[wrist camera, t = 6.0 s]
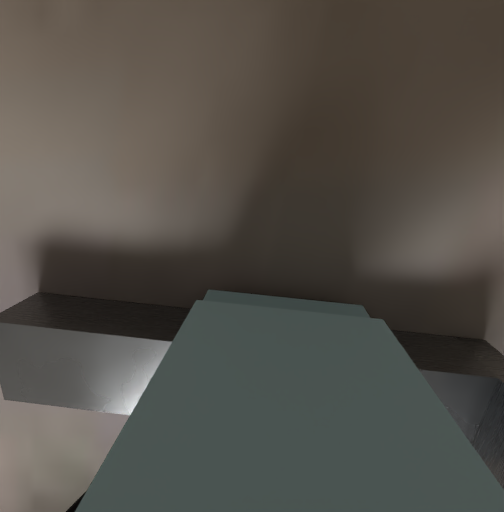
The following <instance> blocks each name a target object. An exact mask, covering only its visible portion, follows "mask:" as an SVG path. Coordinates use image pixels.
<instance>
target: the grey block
mask: <svg viewBox="0 0 504 512" xmlns="http://www.w3.org/2000/svg"><path fill="white" fill-rule="evenodd" d="M75 512H504V489H503V488H502V487H501V485H500V484H499V482H498V481H497V480H496V478H495V477H494V475H493V474H492V473H491V471H490V470H489V468H488V467H487V465H486V464H485V463H484V461H483V460H482V458H481V457H480V456H479V454H478V453H477V451H476V450H475V449H474V447H473V446H472V444H471V443H470V441H469V440H468V439H467V437H466V436H465V434H464V433H463V432H462V430H461V429H460V427H459V426H458V425H457V423H456V422H455V420H454V419H453V417H452V416H451V415H450V413H449V412H448V410H447V409H446V408H445V406H444V405H443V403H442V402H441V401H440V399H439V398H438V396H437V395H436V394H435V392H434V391H433V389H432V388H431V386H430V385H429V384H428V382H427V381H426V379H425V378H424V377H423V375H422V374H421V372H420V371H419V370H418V368H417V367H416V365H415V364H414V362H413V361H412V360H411V358H410V357H409V355H408V354H407V353H406V351H405V350H404V348H403V347H402V346H401V344H400V343H399V341H398V340H397V338H396V337H395V336H394V334H393V333H392V331H391V330H390V329H389V327H388V326H387V324H386V323H385V322H384V320H383V319H375V318H370V316H369V315H368V313H367V312H366V310H365V308H364V307H363V305H354V304H344V303H334V302H325V301H315V300H305V299H296V298H286V297H276V296H267V295H257V294H247V293H237V292H228V291H218V290H208V291H207V293H206V295H205V297H204V299H203V300H196V301H195V303H194V305H193V307H192V308H191V310H190V312H189V314H188V315H187V317H186V319H185V321H184V322H183V324H182V326H181V328H180V329H179V331H178V333H177V335H176V336H175V338H174V340H173V341H172V343H171V345H170V347H169V348H168V350H167V352H166V354H165V355H164V357H163V359H162V361H161V362H160V364H159V366H158V368H157V369H156V371H155V373H154V375H153V376H152V378H151V380H150V382H149V383H148V385H147V387H146V389H145V390H144V392H143V394H142V396H141V397H140V399H139V401H138V403H137V404H136V406H135V408H134V410H133V411H132V413H131V415H130V417H129V418H128V420H127V422H126V423H125V425H124V427H123V429H122V430H121V432H120V434H119V436H118V437H117V439H116V441H115V443H114V444H113V446H112V448H111V450H110V451H109V453H108V455H107V457H106V458H105V460H104V462H103V464H102V465H101V467H100V469H99V471H98V472H97V474H96V476H95V478H94V479H93V481H92V483H91V485H90V486H89V488H88V490H87V492H86V493H85V495H84V497H83V498H82V500H81V502H80V504H79V505H78V507H77V509H76V511H75Z"/></svg>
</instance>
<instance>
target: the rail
mask: <svg viewBox="0 0 504 512" xmlns="http://www.w3.org/2000/svg"><path fill="white" fill-rule="evenodd" d="M190 310H191V309H186V308H177V307H167V306H158V305H149V304H139V303H130V302H120V301H111V300H102V299H92V298H83V297H73V296H64V295H55V294H45V293H36V294H34V295H32V296H30V297H29V298H27V299H25V300H23V301H21V302H19V303H18V304H16V305H14V306H12V307H10V308H8V309H6V310H5V311H3V312H1V313H0V384H1V388H2V392H3V396H4V400H11V401H19V402H27V403H35V404H43V405H51V406H59V407H67V408H75V409H83V410H91V411H99V412H107V413H116V414H124V415H131V413H132V411H133V410H134V408H135V406H136V404H137V403H138V401H139V399H140V397H141V396H142V394H143V392H144V390H145V389H146V387H147V385H148V383H149V382H150V380H151V378H152V376H153V375H154V373H155V371H156V369H157V368H158V366H159V364H160V362H161V361H162V359H163V357H164V355H165V354H166V352H167V350H168V348H169V347H170V345H171V343H172V341H173V340H174V338H175V336H176V335H177V333H178V331H179V329H180V328H181V326H182V324H183V322H184V321H185V319H186V317H187V315H188V314H189V312H190ZM391 331H392V333H393V334H394V336H395V337H396V338H397V340H398V341H399V343H400V344H401V346H402V347H403V348H404V350H405V351H406V353H407V354H408V355H409V357H410V358H411V360H412V361H413V362H414V364H415V365H416V367H417V368H418V370H419V371H420V372H421V374H422V375H423V377H424V378H425V379H426V381H427V382H428V384H429V385H430V386H431V388H432V389H433V391H434V392H435V394H436V395H437V396H438V398H439V399H440V401H441V402H442V403H443V405H444V406H445V408H446V409H447V410H448V412H449V413H450V415H451V416H452V417H453V419H454V420H455V422H456V423H457V425H458V426H459V427H460V429H461V430H462V432H463V433H464V434H465V436H466V437H467V439H468V440H469V441H470V443H471V444H472V446H473V447H474V449H475V450H476V451H477V453H478V454H479V456H480V457H481V458H482V460H483V461H484V463H485V464H486V465H487V467H488V468H489V470H490V471H491V473H492V474H493V475H494V477H495V478H496V480H497V481H498V482H499V484H500V485H501V487H502V488H503V489H504V356H503V355H502V354H501V353H500V352H499V351H497V350H496V349H495V348H494V347H493V346H491V345H490V344H489V343H488V342H487V341H485V340H477V339H468V338H459V337H449V336H440V335H430V334H421V333H412V332H402V331H393V330H391Z"/></svg>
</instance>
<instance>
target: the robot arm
mask: <svg viewBox="0 0 504 512" xmlns="http://www.w3.org/2000/svg"><path fill="white" fill-rule="evenodd" d="M86 492H87V491H86ZM86 492H85V493H86ZM85 493H84V494H83V495H82V496H81V497H80V498H79V499H78V500H77V501H76V502H75V503H74V504H73V505H72V506H71V507H70V508H69V509H68V510H67V511H66V512H75V511H76V509H77V507H78V505H79V504H80V502H81V500H82V498H83V497H84V495H85Z"/></svg>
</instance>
